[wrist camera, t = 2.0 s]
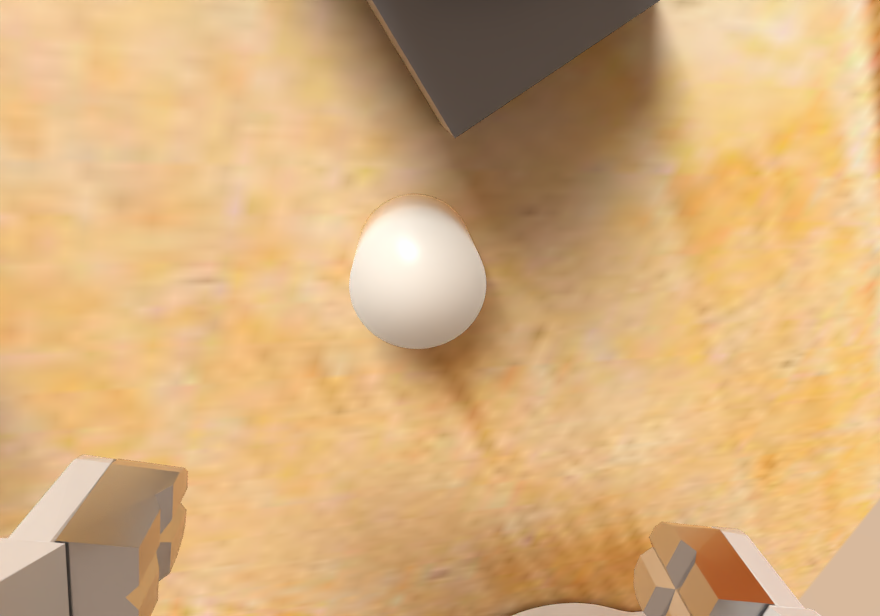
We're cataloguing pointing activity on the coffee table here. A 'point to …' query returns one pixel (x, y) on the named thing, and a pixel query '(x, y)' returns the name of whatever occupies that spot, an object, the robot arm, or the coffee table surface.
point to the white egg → (416, 273)
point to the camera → (492, 46)
